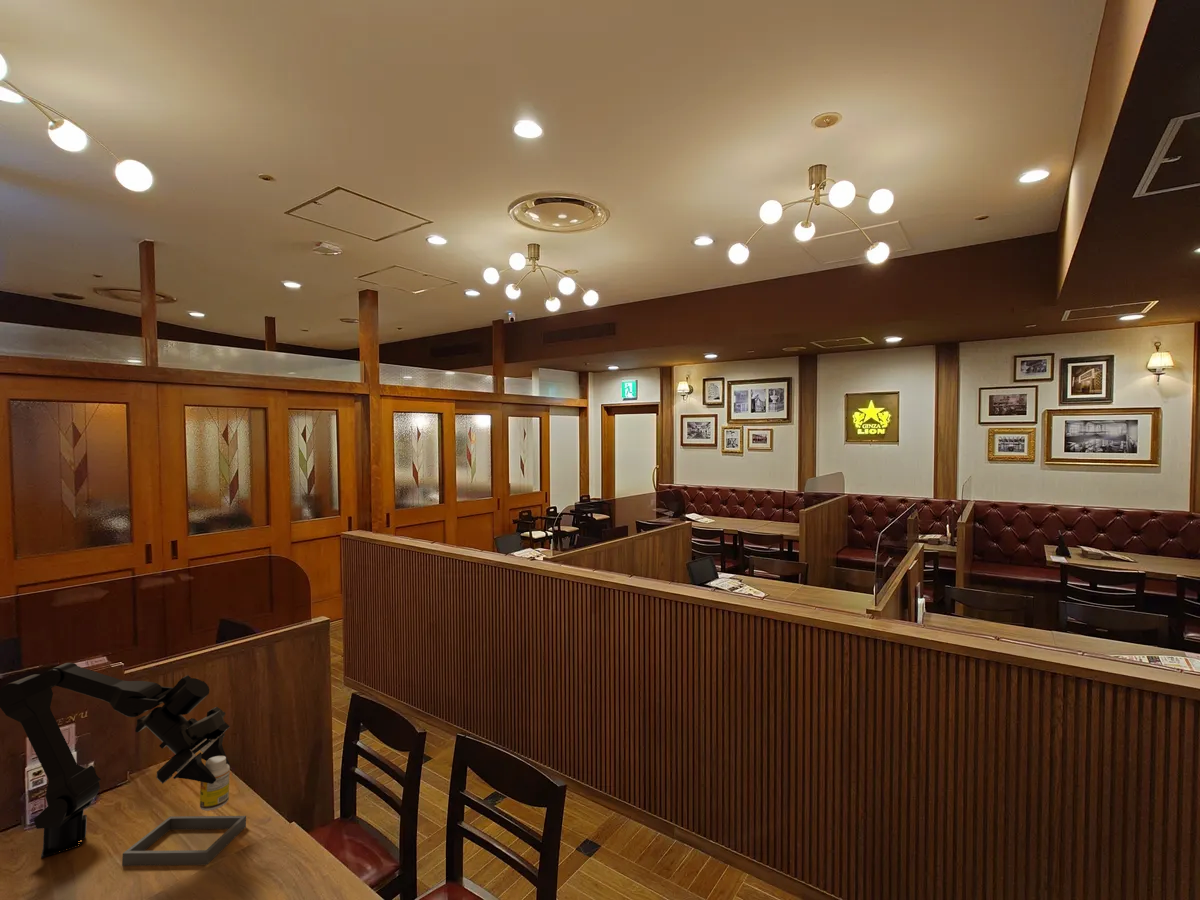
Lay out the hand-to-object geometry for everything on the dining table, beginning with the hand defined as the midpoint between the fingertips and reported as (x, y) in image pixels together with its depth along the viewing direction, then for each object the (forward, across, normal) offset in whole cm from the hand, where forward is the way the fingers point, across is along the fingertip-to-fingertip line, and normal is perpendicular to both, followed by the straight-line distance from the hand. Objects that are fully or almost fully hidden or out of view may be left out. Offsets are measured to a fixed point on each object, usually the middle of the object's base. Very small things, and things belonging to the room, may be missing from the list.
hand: (221, 775), depth 129 cm
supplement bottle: (+4, 0, +6) cm, 7 cm away
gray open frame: (+6, -3, +13) cm, 15 cm away
